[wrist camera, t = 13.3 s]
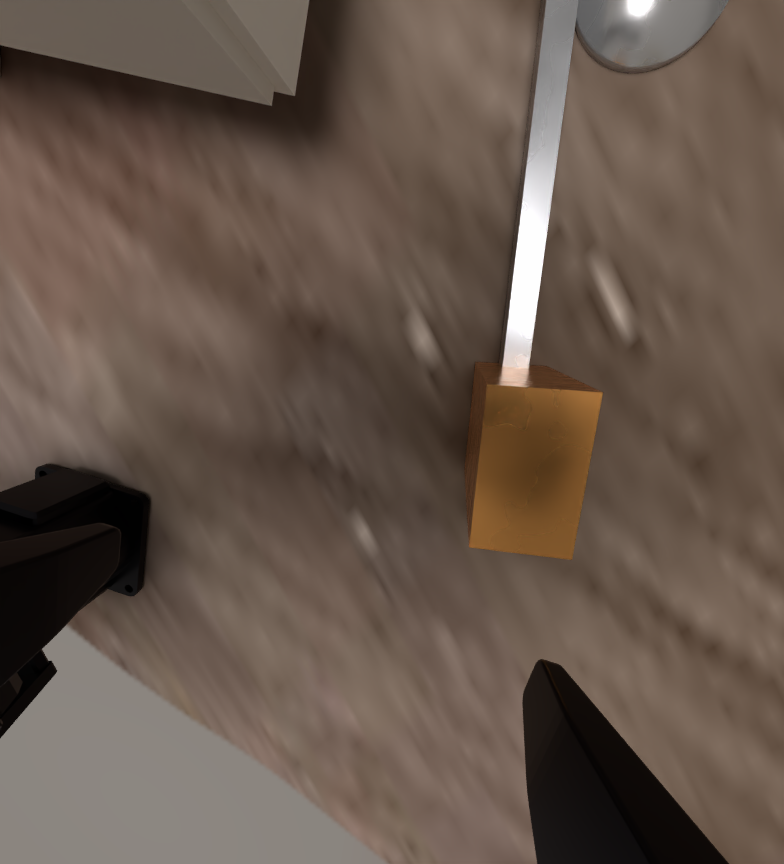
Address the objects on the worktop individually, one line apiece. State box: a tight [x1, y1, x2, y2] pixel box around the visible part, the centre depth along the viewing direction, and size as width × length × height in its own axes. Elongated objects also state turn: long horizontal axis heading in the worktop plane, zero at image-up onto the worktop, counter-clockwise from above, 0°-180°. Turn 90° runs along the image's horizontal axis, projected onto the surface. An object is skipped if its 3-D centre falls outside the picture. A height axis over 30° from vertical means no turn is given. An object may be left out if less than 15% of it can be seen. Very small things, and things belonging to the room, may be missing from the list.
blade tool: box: [464, 0, 603, 560], centre depth 13 cm, size 20×3×7 cm, turn 177°
